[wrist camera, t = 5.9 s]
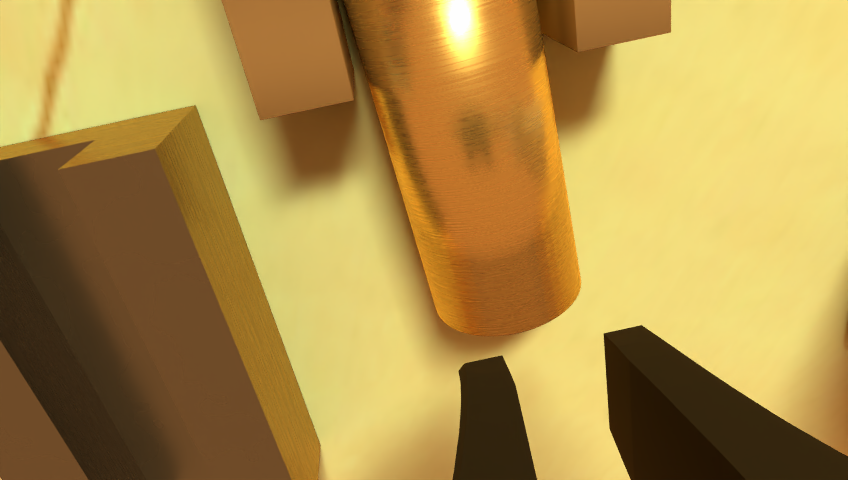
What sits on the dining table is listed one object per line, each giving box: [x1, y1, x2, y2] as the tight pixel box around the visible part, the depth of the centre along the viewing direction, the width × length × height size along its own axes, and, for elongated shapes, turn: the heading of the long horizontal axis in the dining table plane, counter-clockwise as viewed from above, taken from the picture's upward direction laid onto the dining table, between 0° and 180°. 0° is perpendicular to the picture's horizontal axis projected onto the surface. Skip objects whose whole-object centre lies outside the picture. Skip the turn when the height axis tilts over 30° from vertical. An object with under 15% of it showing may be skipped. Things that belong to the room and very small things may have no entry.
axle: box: [344, 0, 581, 336], centre depth 14 cm, size 10×4×4 cm, turn 14°
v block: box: [0, 105, 320, 480], centre depth 17 cm, size 12×7×4 cm, turn 11°
